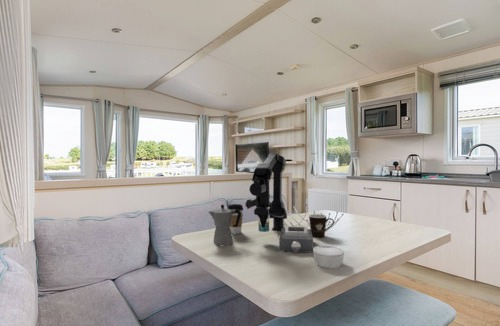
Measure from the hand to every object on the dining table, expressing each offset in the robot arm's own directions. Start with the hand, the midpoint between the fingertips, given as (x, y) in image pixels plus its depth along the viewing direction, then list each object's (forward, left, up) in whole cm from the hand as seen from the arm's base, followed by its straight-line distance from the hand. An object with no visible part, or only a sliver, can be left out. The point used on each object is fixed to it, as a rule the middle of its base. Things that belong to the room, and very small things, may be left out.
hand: (263, 226), depth 127 cm
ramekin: (+22, +27, -8) cm, 36 cm away
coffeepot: (+3, -18, -8) cm, 20 cm away
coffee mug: (-13, +27, -8) cm, 31 cm away
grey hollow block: (+4, +15, -8) cm, 17 cm away
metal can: (0, 0, -2) cm, 2 cm away
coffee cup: (-14, -17, -8) cm, 23 cm away
